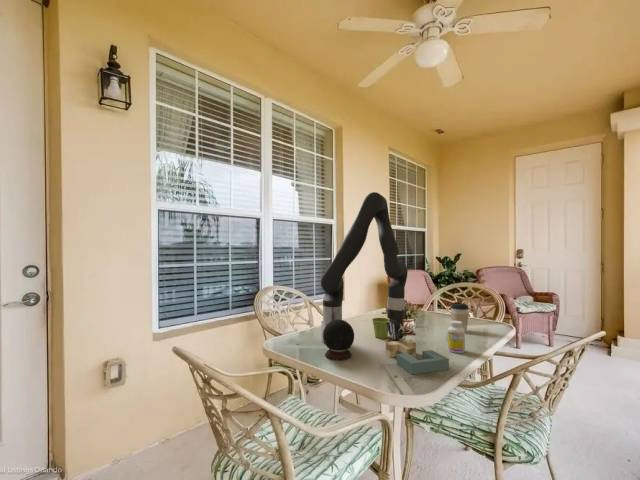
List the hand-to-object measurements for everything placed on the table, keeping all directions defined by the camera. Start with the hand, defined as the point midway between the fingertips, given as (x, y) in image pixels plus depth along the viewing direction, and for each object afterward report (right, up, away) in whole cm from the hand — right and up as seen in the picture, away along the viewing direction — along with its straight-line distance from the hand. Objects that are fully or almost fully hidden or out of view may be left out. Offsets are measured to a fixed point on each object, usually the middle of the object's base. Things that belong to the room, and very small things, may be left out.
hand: (395, 347), depth 140 cm
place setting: (+14, -3, +33) cm, 36 cm away
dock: (+5, -1, -18) cm, 18 cm away
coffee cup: (+42, -2, +31) cm, 52 cm away
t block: (+2, -2, -7) cm, 8 cm away
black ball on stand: (-25, -2, -6) cm, 26 cm away
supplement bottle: (+26, -2, -1) cm, 26 cm away
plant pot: (-2, -2, +21) cm, 21 cm away
